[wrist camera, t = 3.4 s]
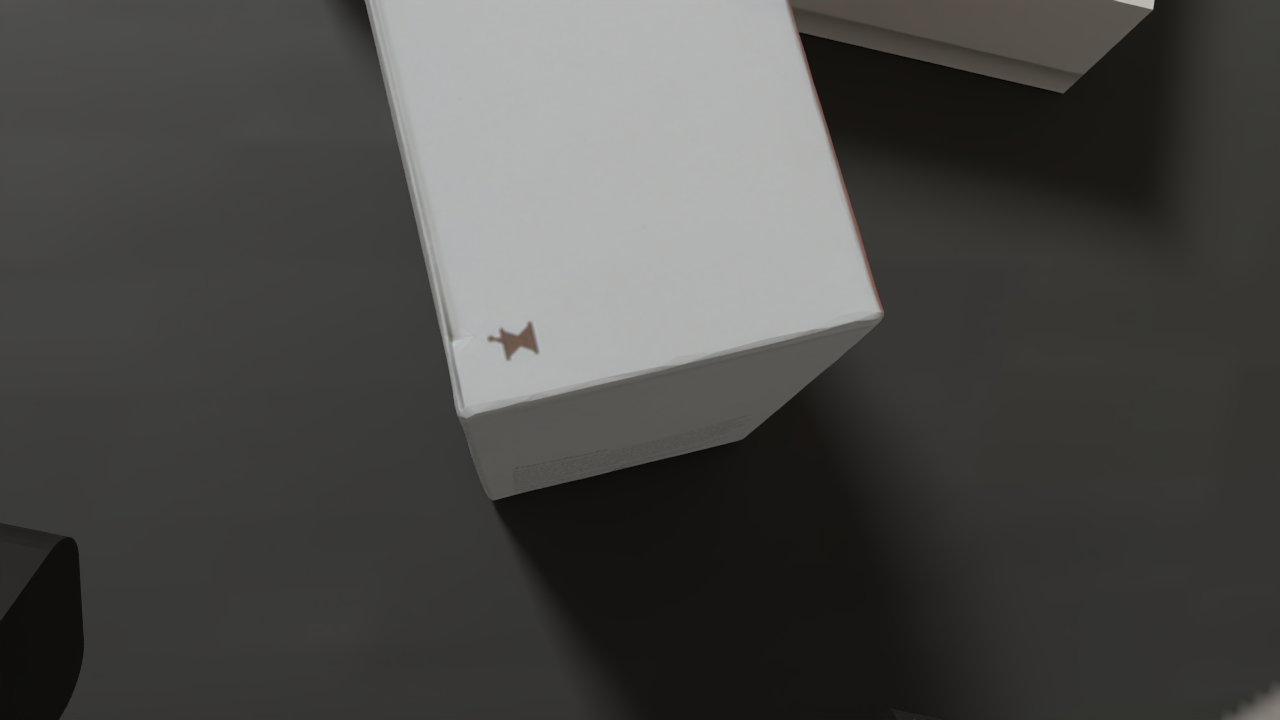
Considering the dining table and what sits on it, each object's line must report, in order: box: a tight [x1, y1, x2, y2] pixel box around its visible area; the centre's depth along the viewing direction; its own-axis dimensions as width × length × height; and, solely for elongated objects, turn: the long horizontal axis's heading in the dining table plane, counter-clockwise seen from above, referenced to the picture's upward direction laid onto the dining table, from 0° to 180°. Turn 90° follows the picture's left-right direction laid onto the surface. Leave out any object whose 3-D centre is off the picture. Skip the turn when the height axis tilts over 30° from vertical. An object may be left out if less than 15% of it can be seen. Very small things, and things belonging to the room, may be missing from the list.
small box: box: [365, 0, 884, 500], centre depth 20 cm, size 8×6×10 cm
